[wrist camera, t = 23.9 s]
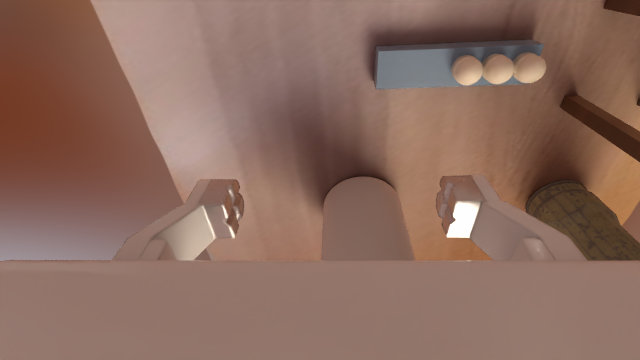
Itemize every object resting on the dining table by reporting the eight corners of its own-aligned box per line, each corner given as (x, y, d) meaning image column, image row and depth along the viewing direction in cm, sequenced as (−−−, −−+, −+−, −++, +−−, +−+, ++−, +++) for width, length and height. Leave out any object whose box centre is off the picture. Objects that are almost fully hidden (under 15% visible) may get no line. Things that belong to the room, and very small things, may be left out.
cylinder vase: (351, 240, 57) (361, 398, 37) (308, 198, 51) (291, 358, 31) (412, 210, 52) (462, 374, 32) (372, 160, 46) (402, 321, 26)
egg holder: (373, 82, 39) (378, 98, 35) (375, 45, 37) (381, 58, 32) (520, 77, 38) (543, 93, 34) (533, 39, 36) (560, 51, 31)
